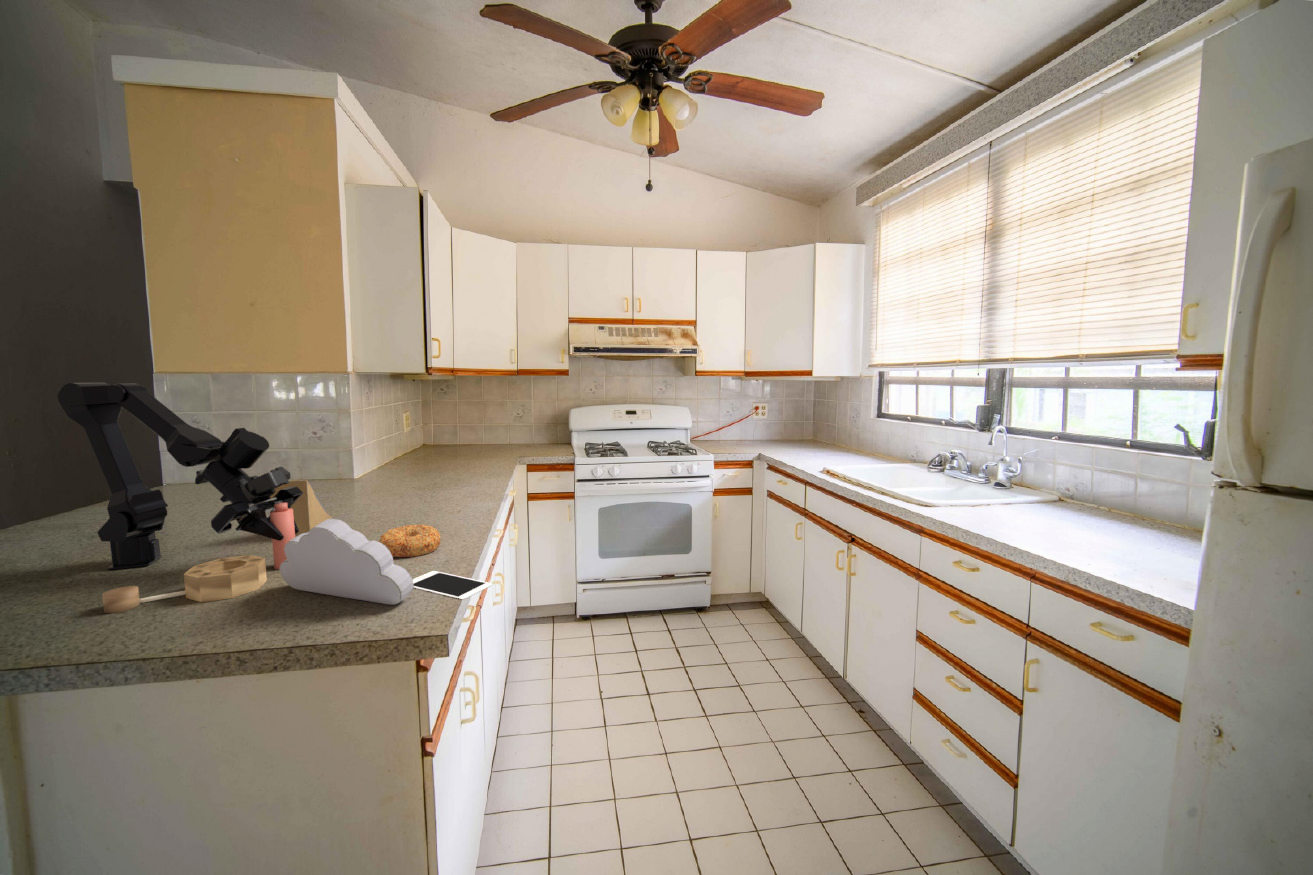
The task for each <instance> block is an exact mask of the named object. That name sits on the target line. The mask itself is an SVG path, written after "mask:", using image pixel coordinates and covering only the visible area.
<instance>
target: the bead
mask: <svg viewBox="0 0 1313 875" xmlns="http://www.w3.org/2000/svg"><path fill="white" fill-rule="evenodd" d="M266 567H267V566H266V558H265V557H260V556H256V555H250V554H247V555H240V556H231V557H230V556H229V557H220V558H217V559H214V560H211V561H207V562H204V563H200V564H196V565H194V566H193V565H192V567H191V568H189V570H187V571H186V572H184V573H183V582H184V590H185V593H186V595H185V599H188V600H191V601H195V602H199V603H205V602H214V601H220V600H229V599H234V598H238V597H240V596H243V595H246V594H248V593H252V592H254V591H257V590H259V589H261V588H262V587H263V585H265V583H266V582H267V581H268V579H267V568H266ZM261 586H262V587H261Z"/></svg>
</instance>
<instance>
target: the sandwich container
mask: <svg viewBox="0 0 1313 875" xmlns="http://www.w3.org/2000/svg"><path fill="white" fill-rule="evenodd" d="M288 481H289V483H288V484H283V485H281V486H279V487H277V488H275V490H276V492H275V493H274V494H273V495H271V496H270V499H272V498H273V497H274V496H275V495H276V494H277V493H278V492H279V491H280V490H281V489H285V488H288V487H298V488H299V489H300V490H301V491H302V492H303V494H302V495H301V496H300V497H299V498H298V499H297V501H296V502H295V503H294V504H293V505H292V506H291V507H290V509H293V515H294V520H295V523H296V525H297V527H298V529H299V532H298V533H297V534H295V537H297V536H299V535H300V534H302V533H307V532H309V531H310V530H311V529H312V528H313V527H315V526H317V525H318V524H320V523H322V522H323V521H325V520H327V519H333V518H332V517H331V515H330V513H328V511H327V509H326V508H325V506H324V505H323V503H322V501H321V500H320V499H319V498H318V496H317V494H316V493H315V491H314V489H313V487H312V486H311V485H310V482H308V481H309V480H307V479H294V480H293V479H289V480H288Z"/></svg>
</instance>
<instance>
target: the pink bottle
mask: <svg viewBox="0 0 1313 875" xmlns="http://www.w3.org/2000/svg"><path fill="white" fill-rule="evenodd" d="M274 506H275V510H273V511H270V514H269V516H270V521H271V522H272V523H273V524H274V526H275V527H276V528H277V529H278V530H279V531H280V532H281V533H282V535H283V536H284V538H283V539H282V540H281V541H278V540H275V539H272V538H271V545H272V556H273V566H274V569H275V570H277V569H280V565H281V564H282V563H283V562H284V561H285V560H286V559H287V558H286V555H285V551H284V547H285V545H286V544H287V543H288V542H289V541H290V540H292V539H293V538H295V528H294V515H293V509H290V508H288V505H287V503H277V504H274Z"/></svg>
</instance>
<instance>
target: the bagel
mask: <svg viewBox="0 0 1313 875" xmlns="http://www.w3.org/2000/svg"><path fill="white" fill-rule="evenodd" d="M378 542H381V543H382V544H384V545H385V546H386V547H387V548H388V549H389V550H390V552H391V554H392V557H393V558H409V557H410V558H411V557H412V558H413V556H414V557H418V556H419V557H420V556H425V555H427V554H430V553H432V552H433V553H434V552H435V551H436V550H437V549H438V548H439V547H440V545H441V533H440V532H439V531H438V530H437V528H435V527H434V526H431V525H428V524H427V525H426V524H411V525H410V524H407V525H406V524H405V525H403V526H402V525H401V526H398V527H395V528H389V529H388V530H387V531H386V532H385V533H383V534H382V535H380V537H379V540H378Z"/></svg>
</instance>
